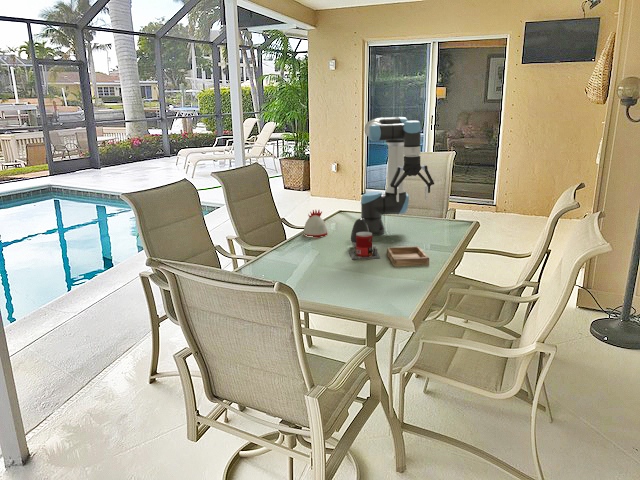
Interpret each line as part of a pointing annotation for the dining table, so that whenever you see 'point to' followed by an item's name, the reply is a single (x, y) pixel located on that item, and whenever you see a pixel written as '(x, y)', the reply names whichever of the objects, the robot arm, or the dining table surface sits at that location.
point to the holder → (365, 257)
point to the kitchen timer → (315, 225)
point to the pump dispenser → (358, 229)
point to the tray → (407, 256)
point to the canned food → (364, 244)
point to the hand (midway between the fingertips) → (412, 200)
